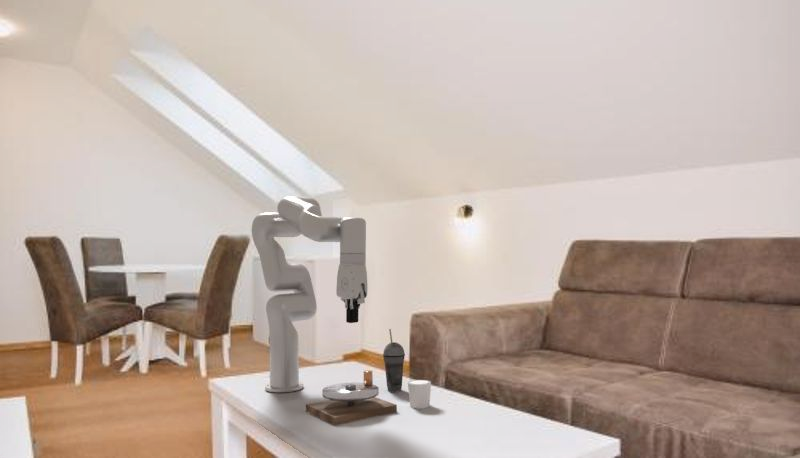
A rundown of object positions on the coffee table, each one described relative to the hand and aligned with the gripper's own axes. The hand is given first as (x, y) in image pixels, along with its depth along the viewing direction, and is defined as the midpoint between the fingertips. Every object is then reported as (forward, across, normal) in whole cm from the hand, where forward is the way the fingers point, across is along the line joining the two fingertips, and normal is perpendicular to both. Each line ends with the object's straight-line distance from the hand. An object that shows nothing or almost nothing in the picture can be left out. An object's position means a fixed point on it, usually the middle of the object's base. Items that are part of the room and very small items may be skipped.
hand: (352, 322), depth 169 cm
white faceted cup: (+25, +12, +16) cm, 32 cm away
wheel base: (+25, +3, -2) cm, 25 cm away
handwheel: (+20, +3, -3) cm, 20 cm away
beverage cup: (+25, -8, +22) cm, 35 cm away
